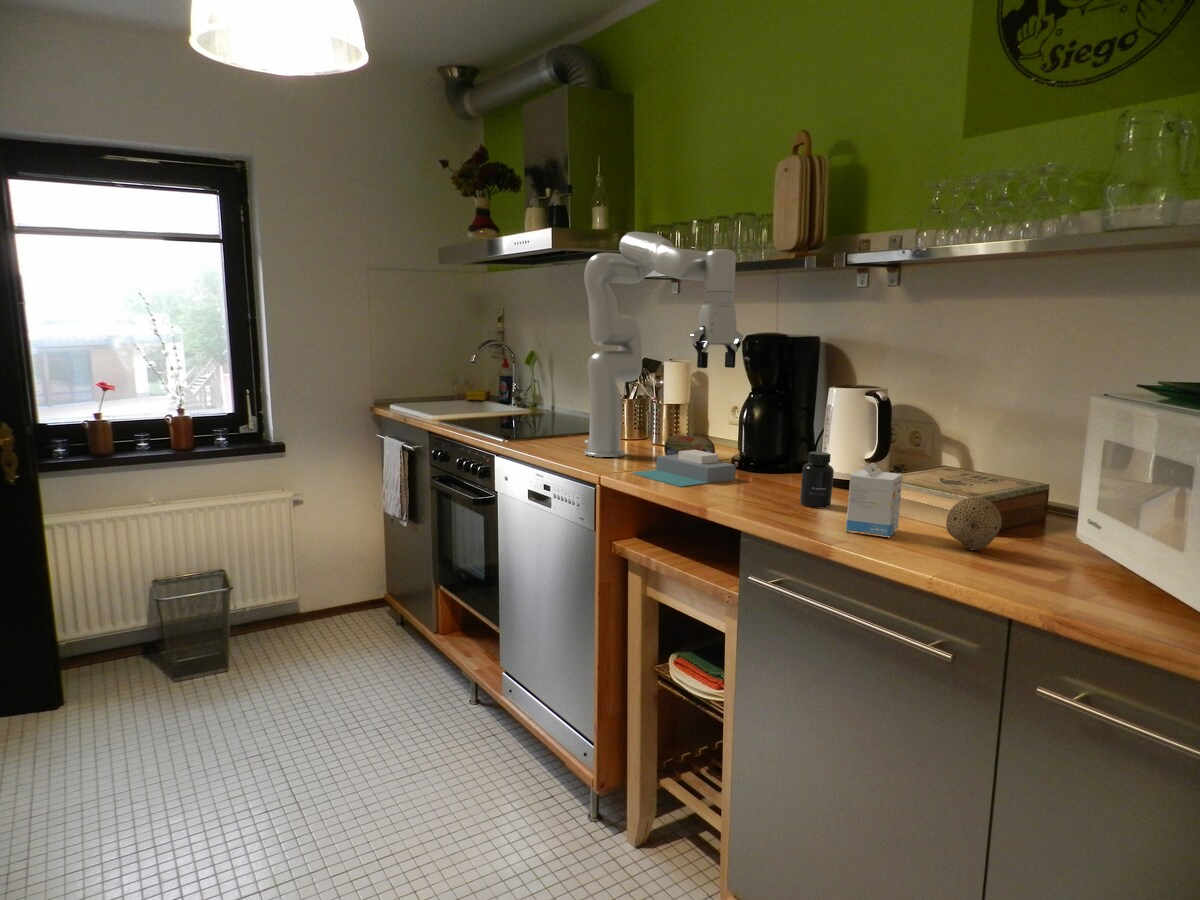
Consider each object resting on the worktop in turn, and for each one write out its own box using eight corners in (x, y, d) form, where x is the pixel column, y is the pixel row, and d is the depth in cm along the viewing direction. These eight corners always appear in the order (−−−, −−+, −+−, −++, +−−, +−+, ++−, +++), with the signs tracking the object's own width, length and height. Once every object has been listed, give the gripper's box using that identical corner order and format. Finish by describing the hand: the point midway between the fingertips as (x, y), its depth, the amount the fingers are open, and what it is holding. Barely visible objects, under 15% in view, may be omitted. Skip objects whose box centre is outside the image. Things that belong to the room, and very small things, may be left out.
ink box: (889, 539, 148) (895, 471, 146) (844, 532, 153) (850, 466, 150) (898, 530, 155) (904, 464, 153) (855, 523, 160) (861, 460, 158)
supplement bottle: (814, 509, 171) (818, 456, 170) (793, 503, 177) (797, 451, 175) (837, 507, 175) (841, 454, 173) (816, 500, 181) (819, 450, 179)
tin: (663, 461, 227) (664, 433, 226) (667, 460, 230) (668, 432, 229) (711, 467, 220) (713, 438, 219) (715, 465, 223) (717, 436, 222)
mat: (630, 473, 207) (630, 472, 207) (656, 470, 213) (656, 469, 213) (680, 487, 192) (680, 486, 192) (707, 483, 197) (707, 482, 197)
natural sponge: (972, 559, 136) (978, 504, 135) (932, 546, 144) (937, 494, 143) (1008, 554, 140) (1014, 501, 138) (967, 541, 148) (973, 490, 146)
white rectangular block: (678, 458, 209) (678, 451, 209) (694, 456, 213) (694, 449, 213) (701, 463, 202) (701, 456, 202) (717, 461, 206) (718, 454, 206)
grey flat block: (656, 470, 213) (656, 456, 212) (683, 467, 219) (683, 453, 218) (707, 483, 197) (707, 468, 196) (734, 479, 203) (735, 464, 202)
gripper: (732, 301, 204) (730, 366, 206) (683, 298, 194) (681, 367, 196) (753, 300, 198) (750, 368, 200) (703, 298, 188) (701, 368, 190)
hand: (716, 367), depth 198 cm, fingers open, 9 cm apart
